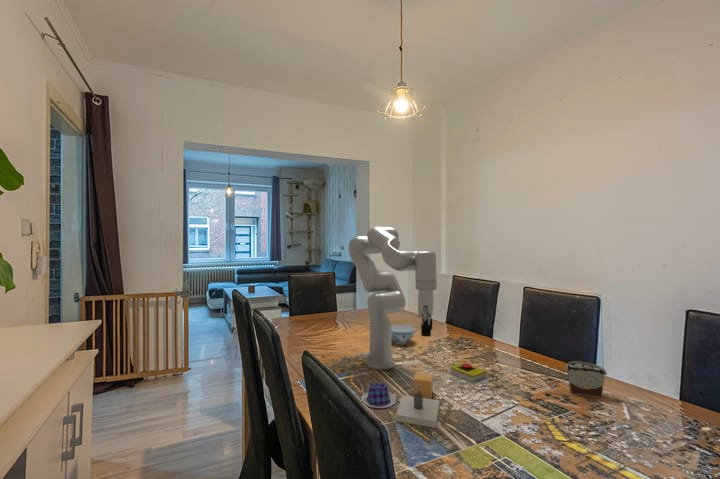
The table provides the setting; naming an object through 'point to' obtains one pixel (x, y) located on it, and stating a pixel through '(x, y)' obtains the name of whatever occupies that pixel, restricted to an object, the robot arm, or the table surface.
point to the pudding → (379, 396)
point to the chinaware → (402, 333)
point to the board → (418, 409)
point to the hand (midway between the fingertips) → (427, 332)
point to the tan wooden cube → (424, 384)
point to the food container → (585, 378)
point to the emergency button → (469, 373)
